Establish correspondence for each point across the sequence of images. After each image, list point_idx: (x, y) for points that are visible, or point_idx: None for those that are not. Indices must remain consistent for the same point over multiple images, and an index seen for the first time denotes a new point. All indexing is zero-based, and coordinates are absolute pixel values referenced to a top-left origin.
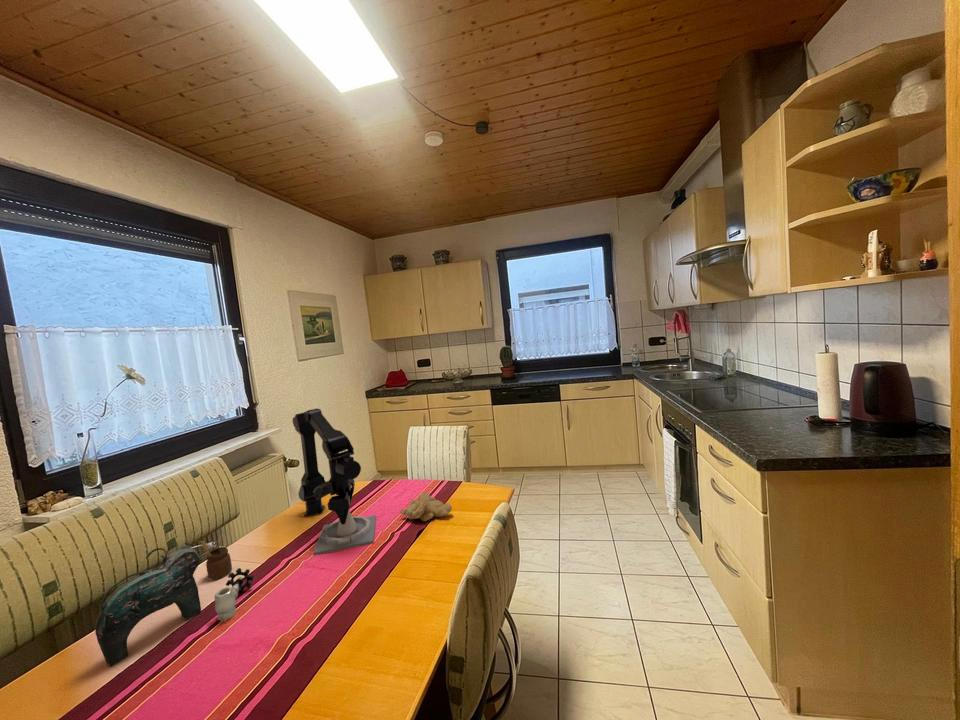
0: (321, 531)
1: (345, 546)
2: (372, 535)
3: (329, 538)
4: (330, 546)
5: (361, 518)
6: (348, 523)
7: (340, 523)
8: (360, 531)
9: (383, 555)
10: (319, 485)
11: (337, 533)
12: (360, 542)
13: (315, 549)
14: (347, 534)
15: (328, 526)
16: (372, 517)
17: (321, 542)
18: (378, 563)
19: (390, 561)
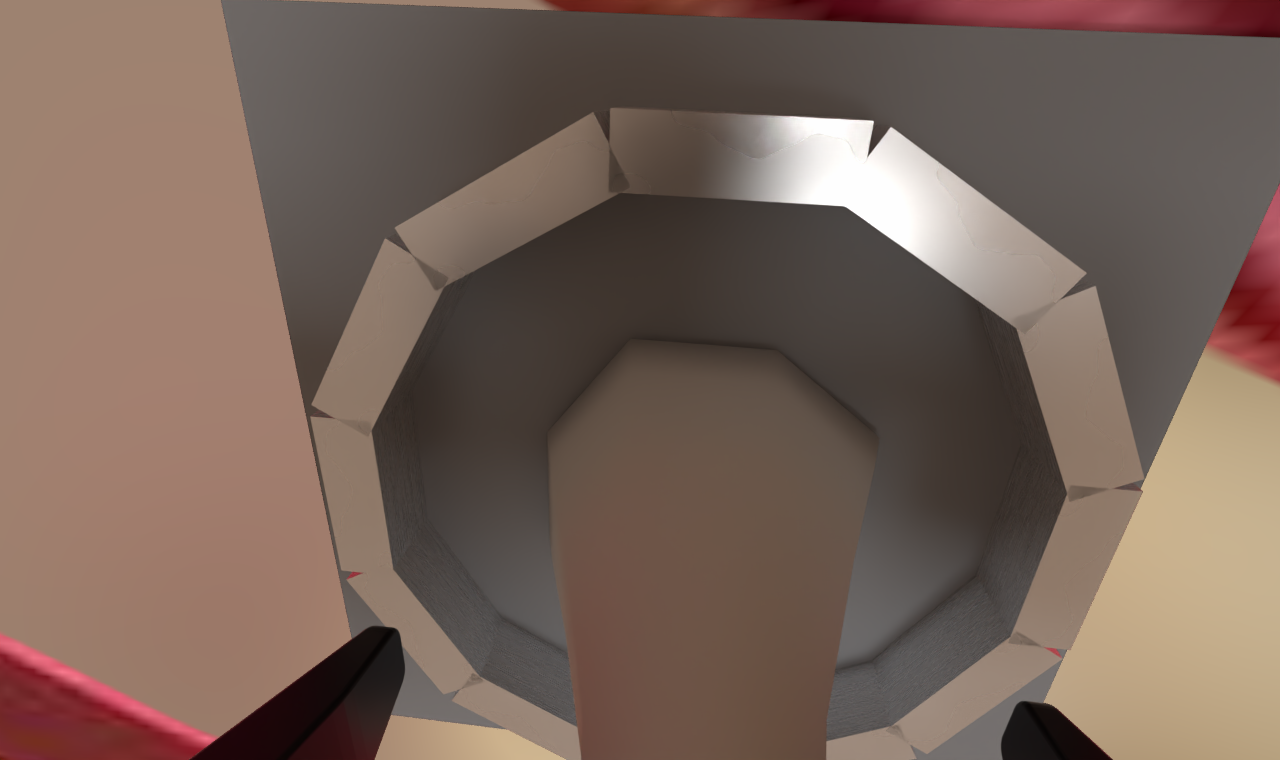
0: (1022, 31)
1: (319, 465)
2: (480, 716)
3: (400, 289)
4: (358, 276)
5: (897, 714)
6: (569, 653)
7: (602, 548)
8: (474, 682)
9: (157, 726)
10: None
11: (613, 388)
12: (364, 612)
13: (322, 22)
14: (551, 512)
15: (944, 220)
16: (961, 757)
17: (537, 103)
18: (44, 686)
19: (70, 752)
